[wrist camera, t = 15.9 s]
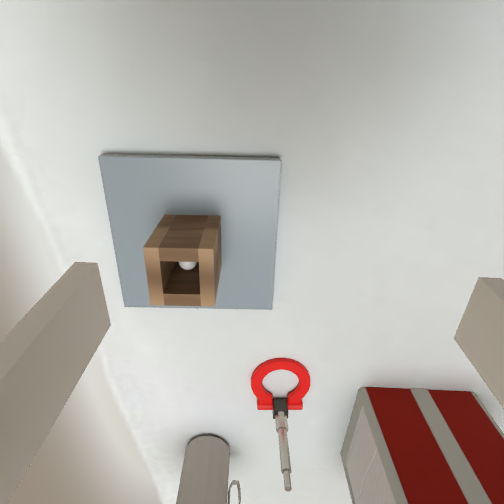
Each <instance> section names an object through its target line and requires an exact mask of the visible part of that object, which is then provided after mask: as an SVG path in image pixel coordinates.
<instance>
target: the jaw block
mask: <svg viewBox="0 0 504 504" xmlns="http://www.w3.org/2000/svg"><path fill="white" fill-rule="evenodd" d="M143 251H144V259H145V267H146V274H147V282H148V290H149V297H150V305H164V306H212V307H215V303H216V297H217V290H218V284H219V278H220V272H221V266H222V257H221V216H206V215H165V214H164V216H163V217H162V219H161V220H160V222H159V223H158V225H157V227H156V228H155V230H154V231H153V233H152V234H151V236H150V237H149V239H148V240H147V242H146V244H145V245H144V247H143ZM179 262H197V264H196V266H195V267H194V268H192V269H190V270H185V269H183V268H182V267H181V266H180V265H179Z"/></svg>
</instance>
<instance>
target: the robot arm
mask: <svg viewBox="0 0 504 504" xmlns="http://www.w3.org/2000/svg"><path fill="white" fill-rule="evenodd" d="M110 325H111V324H110V319H109V315H108V310H107V305H106V301H105V296H104V291H103V287H102V282H101V277H100V273H99V268H98V263H86V262H75V263H74V264H73V265H72V266H71V267H70V268H69V269H68V270H67V271H66V272H65V274H64V275H63V276H62V277H61V278H60V279H59V280H58V281H57V282H56V283H55V284H54V285H53V286H52V287H51V289H49V291H48V292H47V293H46V294H45V295H44V296H43V297H42V298H41V299H40V300H39V301H38V302H37V303H36V304H35V305H34V307H33V308H32V309H31V310H30V311H29V312H28V313H27V314H26V315H25V316H24V317H23V318H22V319H21V321H19V322H18V324H17V325H16V326H15V327H14V328H13V329H12V330H11V331H10V332H9V333H8V334H7V335H6V336H5V338H4V339H3V340H2V341H1V342H0V504H8V502H9V501H10V499H11V497H12V495H13V493H14V492H15V490H16V488H17V487H18V485H19V483H20V481H21V480H22V478H23V476H24V475H25V473H26V471H27V469H28V468H29V466H30V464H31V462H32V461H33V459H34V457H35V456H36V454H37V452H38V450H39V449H40V447H41V445H42V443H43V441H44V440H45V438H46V436H47V435H48V433H49V431H50V429H51V427H52V426H53V424H54V423H55V421H56V419H57V417H58V416H59V413H60V412H61V410H62V409H63V407H64V405H65V403H66V402H67V400H68V398H69V396H70V395H71V393H72V391H73V389H74V388H75V386H76V384H77V383H78V381H79V379H80V377H81V376H82V374H83V372H84V370H85V369H86V367H87V365H88V363H89V362H90V360H91V358H92V357H93V355H94V353H95V351H96V350H97V348H98V346H99V344H100V343H101V341H102V339H103V337H104V336H105V334H106V332H107V331H108V329H109V327H110ZM454 339H455V341H456V342H457V343H458V345H459V346H460V348H461V349H462V351H463V352H464V353H465V355H466V356H467V358H468V359H469V360H470V362H471V363H472V365H473V366H474V367H475V369H476V370H477V372H478V373H479V375H480V376H481V377H482V379H483V380H484V382H485V383H486V384H487V386H488V387H489V389H490V390H491V391H492V393H493V394H494V396H495V397H496V399H497V400H498V401H499V403H500V404H501V406H502V407H503V408H504V280H503V279H502V278H484V277H479V278H478V281H477V283H476V285H475V288H474V290H473V293H472V295H471V297H470V300H469V302H468V305H467V307H466V310H465V312H464V314H463V317H462V319H461V322H460V324H459V327H458V329H457V331H456V334H455V336H454Z"/></svg>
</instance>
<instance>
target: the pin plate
mask: <svg viewBox="0 0 504 504" xmlns="http://www.w3.org/2000/svg"><path fill="white" fill-rule="evenodd" d="M98 158H99V164H100V170H101V175H102V181H103V187H104V193H105V198H106V204H107V210H108V215H109V221H110V227H111V232H112V238H113V244H114V250H115V255H116V261H117V267H118V272H119V278H120V284H121V289H122V295H123V301H124V307H160V308H214V309H267V310H272V302H273V285H274V269H275V252H276V235H277V219H278V202H279V185H280V169H281V159H280V158H272V157H229V156H186V155H143V154H102V155H100V156H98ZM164 214H165V215H206V216H221V257H222V266H221V272H220V278H219V284H218V290H217V297H216V303H215V307H212V306H164V305H150V297H149V290H148V282H147V274H146V267H145V259H144V251H143V247H144V245H145V244H146V242H147V240H148V239H149V237H150V236H151V234H152V233H153V231H154V230H155V228H156V227H157V225H158V223H159V222H160V220H161V219H162V217H163V216H164ZM196 264H197V262H179V265H180V266H181V267H182V268H183V269H185V270H190V269H192V268H194V267H195V266H196Z"/></svg>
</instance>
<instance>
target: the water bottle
mask: <svg viewBox="0 0 504 504" xmlns="http://www.w3.org/2000/svg"><path fill="white" fill-rule="evenodd" d="M229 457H230V453H229V447H228V445H227V444H226V443H225V442H224V441H223V440H222V439H220V438H217V437H214V436H200V437H198V438H195V439H193V440H192V441H191V442H190V443H189V445H188V446H187V448H186V451H185V457H184V463H183V468H182V474H181V479H180V485H179V491H178V496H177V502H176V504H227V491H228V474H229ZM235 484H237V487H238V494H239V504H240V502H241V494H240V484H239V481H236V480H233V482H232V483H231V484H230V487H229V491H228V504H230V488H231V487H232V485H235Z"/></svg>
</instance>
